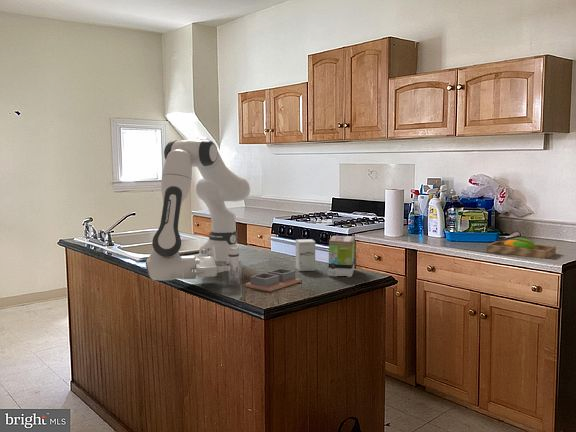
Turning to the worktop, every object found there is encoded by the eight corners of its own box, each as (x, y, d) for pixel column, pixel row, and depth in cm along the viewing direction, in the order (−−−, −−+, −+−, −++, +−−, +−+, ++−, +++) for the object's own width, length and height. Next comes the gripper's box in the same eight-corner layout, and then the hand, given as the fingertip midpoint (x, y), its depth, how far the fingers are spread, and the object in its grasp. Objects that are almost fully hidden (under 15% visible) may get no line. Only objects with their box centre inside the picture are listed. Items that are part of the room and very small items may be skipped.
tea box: (352, 277, 216) (353, 241, 214) (327, 276, 217) (327, 240, 216) (354, 269, 230) (355, 235, 229) (331, 268, 232) (331, 234, 230)
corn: (528, 240, 253) (498, 234, 272) (527, 256, 254) (497, 249, 272) (541, 240, 256) (510, 234, 274) (539, 256, 256) (508, 249, 275)
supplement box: (298, 271, 227) (298, 242, 225) (295, 268, 234) (295, 239, 233) (315, 270, 228) (315, 241, 227) (312, 267, 235) (312, 238, 234)
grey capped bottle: (226, 284, 206) (225, 248, 204) (234, 282, 209) (233, 246, 207) (234, 286, 203) (233, 249, 201) (241, 284, 206) (241, 248, 205)
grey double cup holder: (245, 286, 202) (245, 275, 202) (276, 277, 216) (276, 267, 216) (269, 291, 195) (269, 280, 194) (300, 282, 209) (300, 271, 208)
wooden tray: (486, 252, 267) (486, 245, 266) (496, 247, 278) (496, 241, 278) (547, 258, 249) (547, 251, 249) (555, 253, 261) (555, 246, 260)
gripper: (190, 264, 192) (229, 262, 194) (190, 254, 212) (225, 252, 214) (191, 282, 192) (230, 280, 195) (190, 269, 212) (225, 268, 215)
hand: (227, 265), depth 205 cm, fingers open, 8 cm apart
